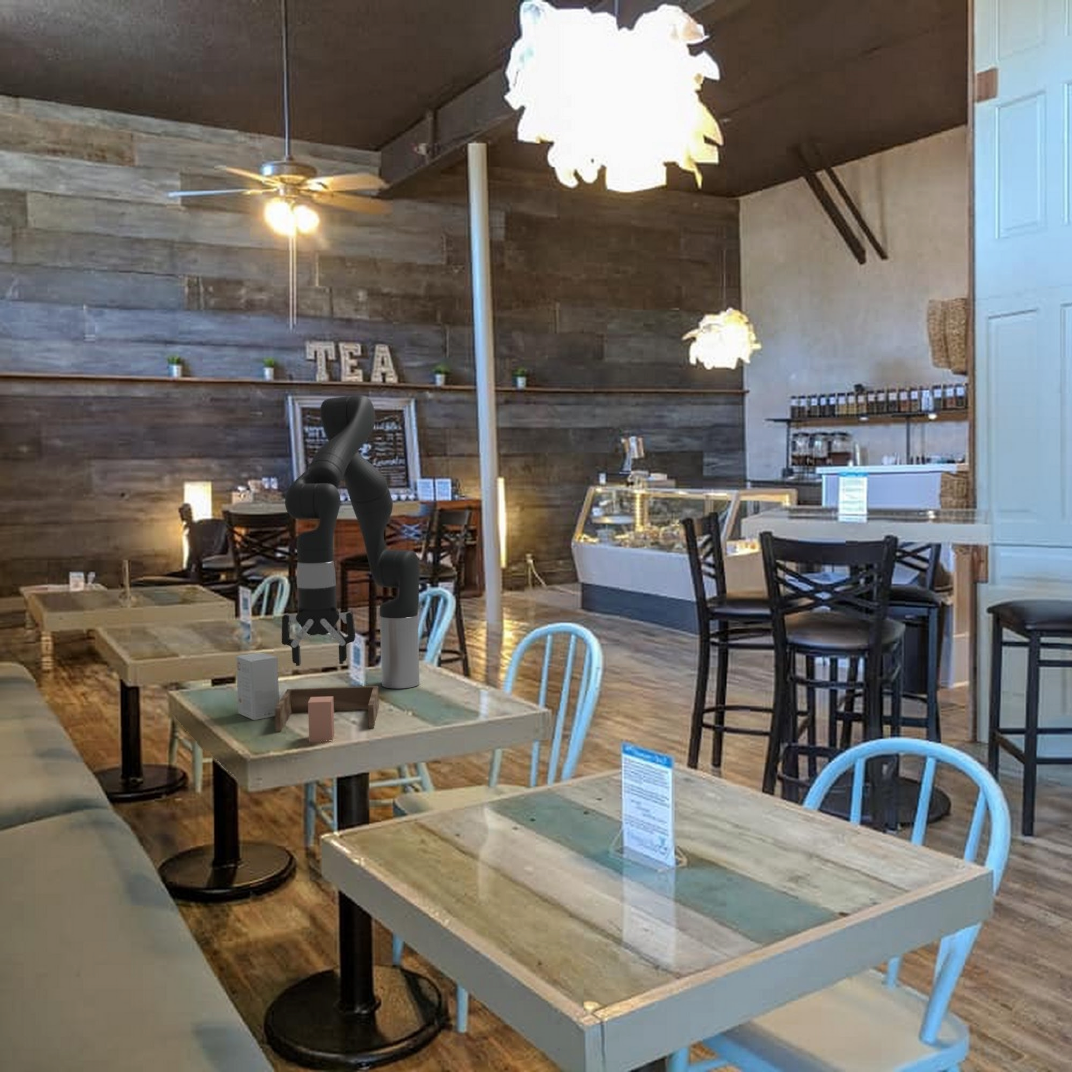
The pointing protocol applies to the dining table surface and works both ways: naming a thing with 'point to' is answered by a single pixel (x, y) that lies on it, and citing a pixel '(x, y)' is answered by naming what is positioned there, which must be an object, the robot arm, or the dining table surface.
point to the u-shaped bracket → (341, 697)
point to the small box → (257, 685)
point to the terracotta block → (321, 718)
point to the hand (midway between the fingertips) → (319, 664)
